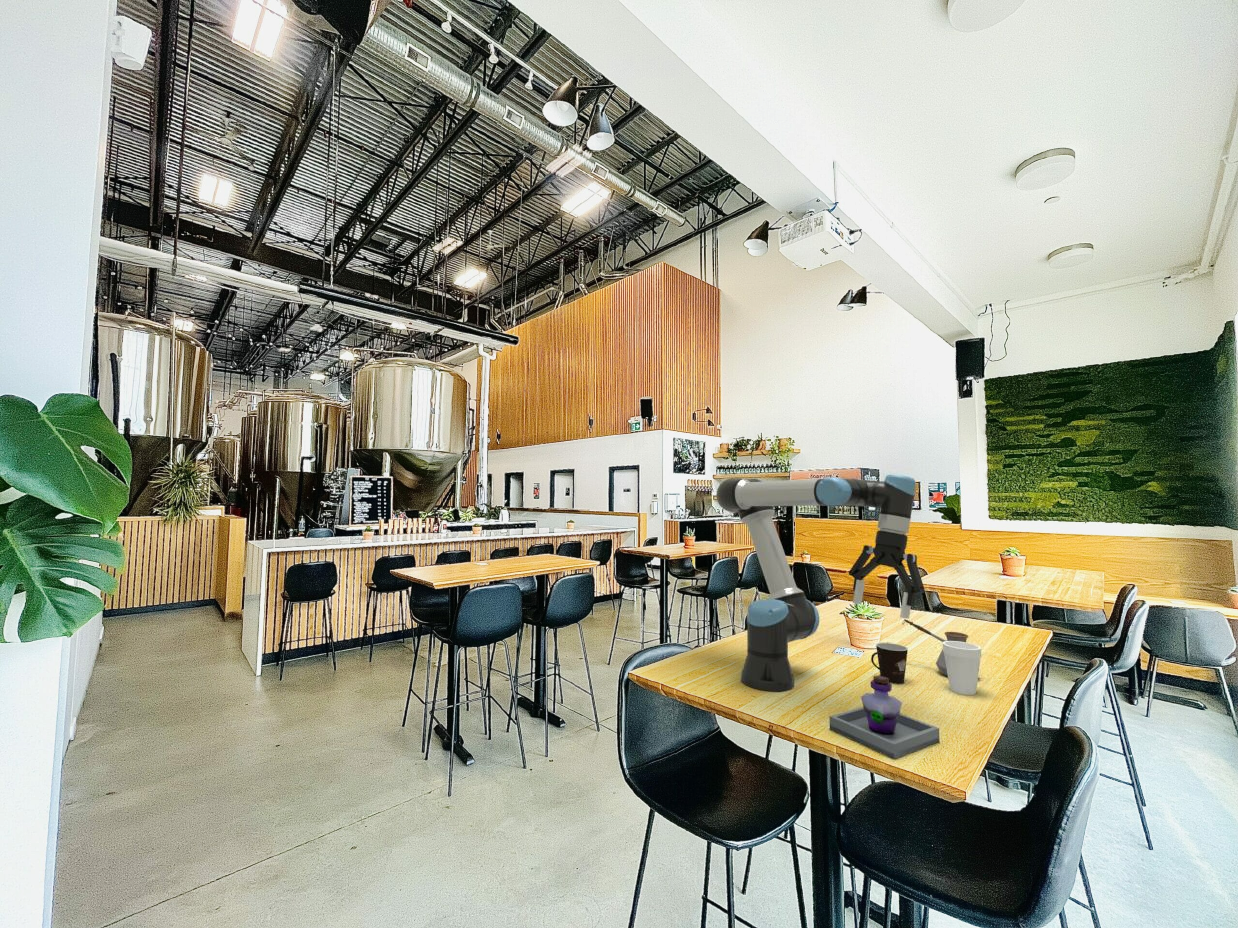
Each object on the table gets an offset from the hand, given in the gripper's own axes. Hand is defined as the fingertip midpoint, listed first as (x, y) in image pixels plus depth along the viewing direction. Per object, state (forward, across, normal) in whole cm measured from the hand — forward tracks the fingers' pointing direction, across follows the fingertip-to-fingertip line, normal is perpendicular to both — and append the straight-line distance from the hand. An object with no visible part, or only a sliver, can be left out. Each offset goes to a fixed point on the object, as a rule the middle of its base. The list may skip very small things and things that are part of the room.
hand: (879, 610), depth 139 cm
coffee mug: (+23, +10, -25) cm, 35 cm away
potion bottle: (+25, -12, +12) cm, 30 cm away
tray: (+26, -13, +12) cm, 31 cm away
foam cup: (+20, -6, -36) cm, 41 cm away
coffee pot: (+19, +7, -48) cm, 52 cm away
